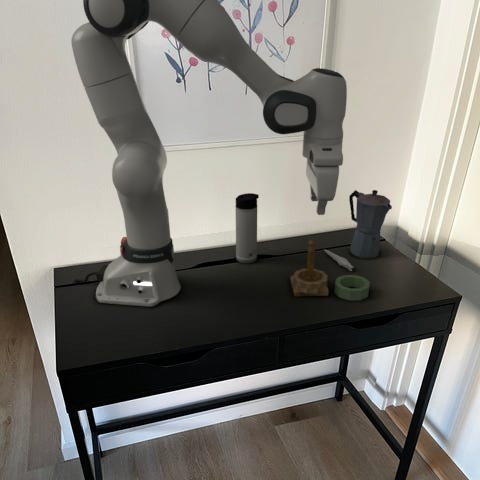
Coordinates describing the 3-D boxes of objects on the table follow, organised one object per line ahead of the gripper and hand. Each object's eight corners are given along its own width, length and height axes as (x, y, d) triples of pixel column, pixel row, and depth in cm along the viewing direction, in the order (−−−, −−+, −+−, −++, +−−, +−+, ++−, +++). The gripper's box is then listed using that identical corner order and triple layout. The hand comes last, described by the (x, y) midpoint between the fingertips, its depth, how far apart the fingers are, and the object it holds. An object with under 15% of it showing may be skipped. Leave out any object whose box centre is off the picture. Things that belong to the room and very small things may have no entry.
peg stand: (294, 296, 136) (297, 248, 129) (290, 280, 144) (292, 234, 137) (328, 295, 137) (332, 247, 129) (322, 279, 144) (326, 233, 137)
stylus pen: (356, 270, 149) (357, 264, 148) (348, 272, 148) (349, 266, 147) (327, 251, 160) (328, 245, 159) (320, 252, 159) (320, 247, 158)
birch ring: (294, 294, 134) (294, 283, 133) (291, 278, 142) (291, 268, 140) (329, 293, 134) (330, 283, 133) (324, 278, 142) (325, 268, 140)
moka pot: (374, 265, 152) (384, 199, 141) (333, 249, 161) (339, 186, 151) (393, 255, 157) (403, 191, 147) (352, 241, 167) (359, 179, 156)
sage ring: (337, 300, 134) (338, 290, 133) (331, 285, 142) (332, 275, 140) (372, 300, 134) (374, 290, 133) (364, 284, 142) (365, 274, 140)
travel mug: (256, 264, 153) (256, 198, 142) (234, 262, 154) (233, 197, 143) (259, 255, 158) (260, 191, 147) (238, 254, 159) (237, 190, 149)
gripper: (302, 137, 126) (298, 193, 133) (315, 160, 108) (310, 222, 116) (327, 137, 126) (323, 192, 133) (345, 159, 108) (338, 222, 116)
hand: (317, 206), depth 124 cm, fingers open, 8 cm apart
